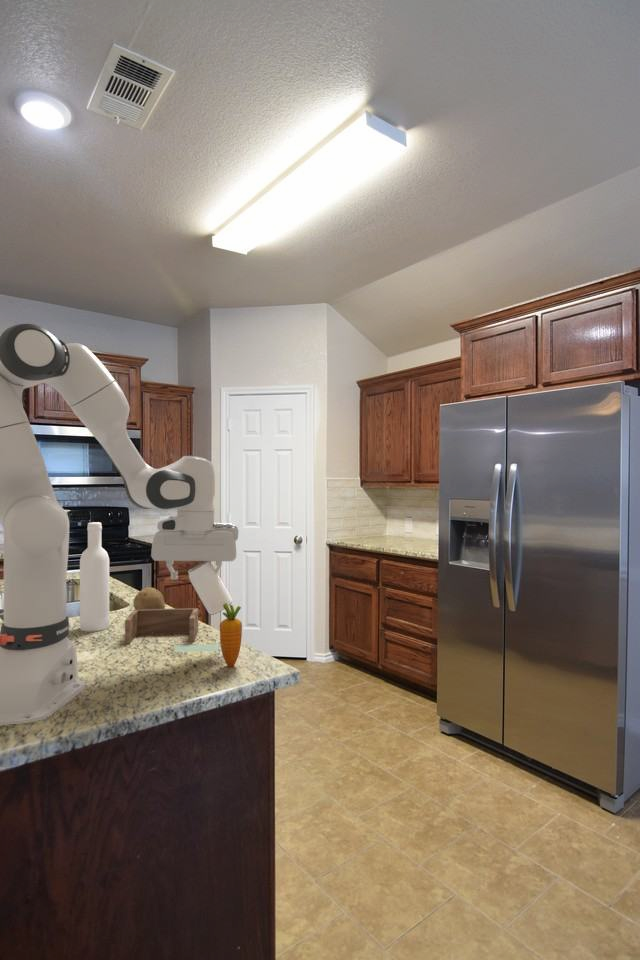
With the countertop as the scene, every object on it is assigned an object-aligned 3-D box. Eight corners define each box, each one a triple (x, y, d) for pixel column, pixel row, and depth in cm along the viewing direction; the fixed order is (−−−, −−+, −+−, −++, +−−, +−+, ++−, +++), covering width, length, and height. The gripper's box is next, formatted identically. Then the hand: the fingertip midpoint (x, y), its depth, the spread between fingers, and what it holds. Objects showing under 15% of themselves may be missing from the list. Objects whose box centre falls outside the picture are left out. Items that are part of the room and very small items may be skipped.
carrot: (246, 668, 122) (246, 602, 122) (231, 674, 118) (231, 607, 117) (230, 663, 125) (230, 599, 124) (215, 670, 121) (215, 604, 120)
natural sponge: (133, 617, 163) (133, 585, 162) (164, 615, 165) (164, 583, 165) (133, 626, 154) (133, 591, 154) (165, 623, 157) (165, 589, 157)
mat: (216, 661, 126) (216, 659, 126) (169, 662, 125) (169, 661, 125) (219, 645, 137) (219, 644, 137) (176, 647, 136) (176, 645, 136)
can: (220, 613, 127) (195, 569, 126) (205, 617, 131) (181, 575, 130) (238, 599, 132) (214, 556, 131) (223, 603, 136) (200, 563, 135)
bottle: (111, 623, 157) (111, 521, 156) (107, 630, 149) (107, 523, 149) (82, 624, 155) (82, 521, 154) (76, 632, 147) (76, 524, 147)
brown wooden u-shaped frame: (194, 642, 139) (194, 618, 139) (125, 645, 137) (125, 620, 137) (198, 631, 149) (198, 608, 149) (134, 633, 147) (134, 609, 147)
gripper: (239, 522, 135) (237, 577, 135) (155, 520, 132) (154, 576, 132) (238, 524, 128) (236, 581, 128) (150, 522, 126) (149, 581, 126)
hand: (194, 579), depth 130 cm, fingers open, 8 cm apart
